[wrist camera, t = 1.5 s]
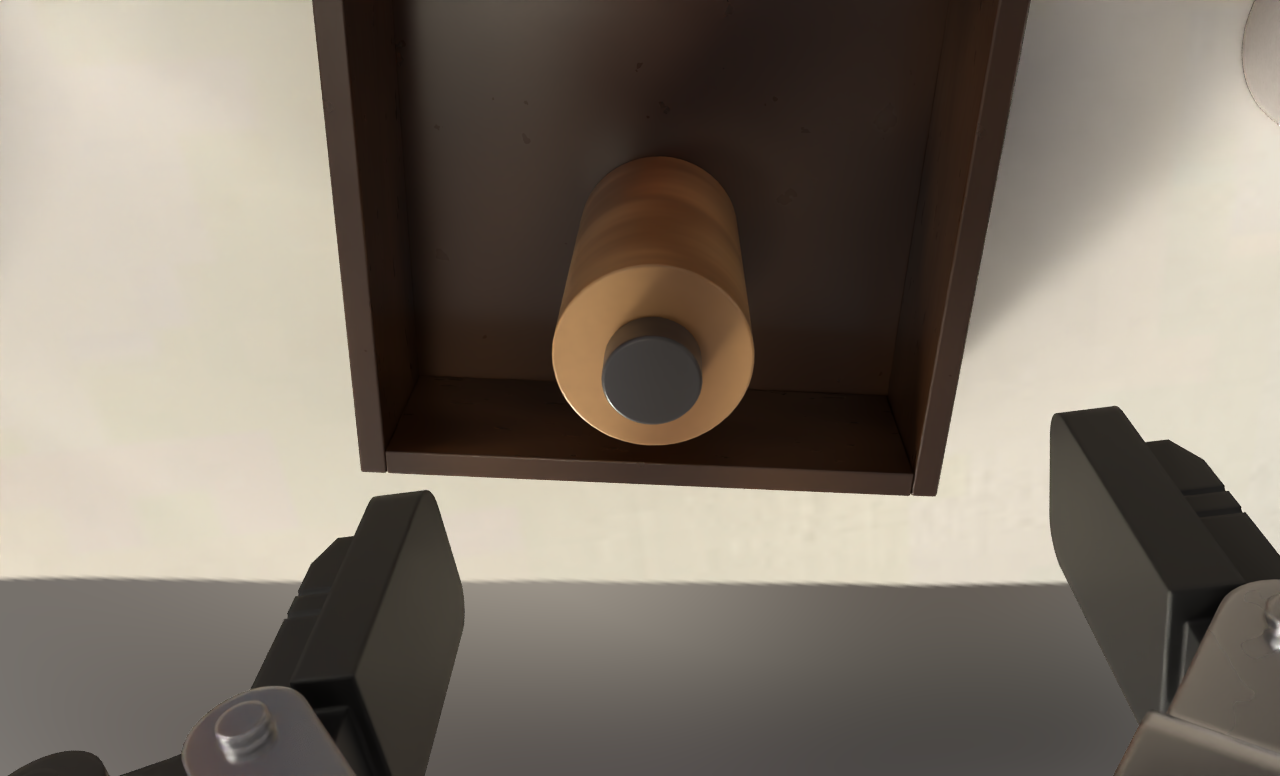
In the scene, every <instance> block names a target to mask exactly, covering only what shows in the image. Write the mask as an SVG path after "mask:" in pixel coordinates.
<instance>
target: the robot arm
mask: <svg viewBox="0 0 1280 776" xmlns="http://www.w3.org/2000/svg"><path fill="white" fill-rule="evenodd" d="M1049 514H1050V529H1051V536H1052V541H1053V546H1054V550H1055V553H1056V557H1057V560H1058V562H1059V565H1060V567H1061V569H1062V571H1063V573H1064V575H1065V577H1066V579H1067V581H1068V583H1069V585H1070V587H1071V589H1072V591H1073V593H1074V595H1075V597H1076V599H1077V601H1078V603H1079V605H1080V607H1081V609H1082V611H1083V613H1084V616H1085V618H1086V620H1087V621H1088V624H1089V625H1090V628H1091V630H1092V632H1093V634H1094V636H1095V638H1096V640H1097V642H1098V644H1099V646H1100V648H1101V650H1102V652H1103V654H1104V656H1105V658H1106V660H1107V662H1108V664H1109V666H1110V668H1111V670H1112V672H1113V674H1114V676H1115V678H1116V680H1117V682H1118V684H1119V686H1120V688H1121V690H1122V692H1123V694H1124V696H1125V698H1126V700H1127V702H1128V704H1129V706H1130V708H1131V710H1132V712H1133V714H1134V716H1135V718H1136V720H1137V723H1138V724H1139V727H1138V728H1137V730H1136V732H1135V734H1134V736H1133V738H1132V740H1131V742H1130V744H1129V746H1128V748H1127V750H1126V752H1125V754H1124V756H1123V758H1122V760H1121V762H1120V764H1119V765H1118V767H1117V769H1116V771H1115V773H1114V775H1113V776H1280V555H1279V554H1278V553H1277V551H1276V550H1275V549H1274V548H1273V546H1272V545H1271V544H1270V543H1269V541H1268V540H1267V539H1266V538H1265V536H1264V535H1263V534H1262V533H1261V531H1260V530H1259V529H1258V527H1257V526H1256V525H1255V524H1254V522H1253V521H1252V520H1251V519H1250V517H1249V516H1248V515H1247V514H1246V512H1244V513H1242V510H1241V506H1240V505H1239V504H1238V502H1237V501H1236V500H1235V498H1234V497H1233V496H1232V495H1231V493H1230V492H1229V491H1225V488H1224V485H1223V483H1222V482H1221V481H1220V480H1219V478H1218V477H1217V476H1216V475H1215V473H1214V472H1213V471H1212V470H1211V468H1210V467H1209V466H1208V464H1207V463H1206V462H1205V461H1204V460H1203V459H1201V458H1200V457H1198V456H1196V455H1194V454H1193V453H1191V452H1189V451H1187V450H1186V449H1184V448H1182V447H1180V446H1179V445H1177V444H1175V443H1174V442H1172V441H1170V440H1160V441H1152V442H1144V440H1143V439H1142V437H1141V436H1140V435H1139V433H1138V432H1137V431H1136V429H1135V428H1134V426H1133V425H1132V424H1131V422H1130V421H1129V420H1128V418H1127V417H1126V415H1125V414H1124V413H1123V411H1122V410H1121V409H1120V408H1119V407H1117V406H1111V407H1103V408H1095V409H1087V410H1079V411H1071V412H1063V413H1056V414H1054V415H1053V417H1052V421H1051V427H1050V509H1049ZM298 593H299V595H298V596H296V597H295V598H294V601H293V603H292V605H291V607H290V609H289V611H288V613H287V614H288V619H284V621H283V623H282V625H281V627H280V629H279V631H278V634H277V636H276V638H275V640H274V642H273V644H272V646H271V648H270V650H269V652H268V654H267V656H266V659H265V660H264V663H263V664H262V667H261V669H260V671H259V673H258V675H257V677H256V679H255V681H254V683H253V685H252V687H251V689H250V690H248V691H245V692H242V693H240V694H237V695H235V696H233V697H231V698H229V699H227V700H225V701H224V702H222V703H220V704H218V705H217V706H216V707H214V708H213V709H212V710H210V711H209V712H208V713H207V714H206V715H205V716H203V717H202V718H201V719H200V720H199V721H198V722H197V723H196V725H195V726H194V727H193V728H192V730H191V731H190V732H189V734H188V735H187V737H186V740H185V742H184V744H183V748H182V751H181V754H180V755H177V756H175V757H172V758H170V759H167V760H164V761H161V762H158V763H155V764H152V765H149V766H146V767H144V768H141V769H138V770H135V771H132V772H129V773H126V774H123V775H120V776H425V772H426V768H427V765H428V761H429V757H430V753H431V749H432V746H433V742H434V738H435V734H436V730H437V727H438V723H439V719H440V715H441V711H442V707H443V703H444V700H445V696H446V692H447V689H448V684H449V681H450V677H451V673H452V670H453V666H454V662H455V658H456V654H457V651H458V647H459V643H460V639H461V635H462V631H463V626H464V613H465V611H464V596H463V589H462V584H461V581H460V577H459V574H458V571H457V567H456V564H455V561H454V557H453V554H452V551H451V547H450V544H449V541H448V538H447V534H446V531H445V528H444V524H443V521H442V518H441V514H440V511H439V508H438V505H437V502H436V500H435V497H434V496H433V494H432V493H431V492H430V491H428V490H424V491H416V492H408V493H399V494H391V495H383V496H375V497H373V498H372V499H371V500H370V502H369V504H368V506H367V508H366V510H365V513H364V515H363V517H362V519H361V522H360V524H359V526H358V528H357V530H356V533H355V535H354V536H351V537H343V538H337V539H336V540H335V541H334V542H333V543H332V544H331V545H330V546H329V547H328V548H327V549H326V550H325V551H324V552H323V553H322V554H321V555H320V556H319V557H318V558H317V559H316V560H315V561H314V562H313V563H312V564H311V565H310V567H309V570H308V572H307V574H306V576H305V578H304V580H303V582H302V584H301V586H300V588H299V590H298ZM8 776H109V774H108V772H107V770H106V768H105V767H104V765H103V763H102V761H101V760H100V759H99V758H98V757H97V756H95V755H94V754H92V753H89V752H85V751H64V752H59V753H55V754H51V755H48V756H45V757H42V758H40V759H37V760H35V761H33V762H31V763H29V764H27V765H25V766H23V767H21V768H19V769H18V770H16V771H15V772H13V773H11V774H10V775H8Z"/></svg>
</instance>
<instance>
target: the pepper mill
mask: <svg viewBox="0 0 1280 776" xmlns="http://www.w3.org/2000/svg"><path fill="white" fill-rule="evenodd" d="M754 354H755V350H754V342H753V335H752V328H751V320H750V313H749V306H748V299H747V291H746V284H745V277H744V270H743V262H742V255H741V248H740V241H739V233H738V226H737V219H736V214H735V211H734V207H733V205H732V203H731V200H730V198H729V197H728V195H727V193H726V192H725V190H724V189H723V187H722V186H721V185H720V184H719V182H718V181H717V180H716V179H714V178H713V177H712V176H711V175H710V174H709V173H707V172H706V171H705V170H703V169H702V168H700V167H698V166H696V165H694V164H692V163H690V162H687V161H684V160H681V159H677V158H672V157H663V156H658V157H646V158H640V159H637V160H633V161H630V162H628V163H625V164H623V165H621V166H619V167H618V168H616V169H614V170H613V171H611V172H610V173H609V174H607V175H606V176H605V177H604V178H603V179H602V180H601V181H600V182H599V183H598V184H597V185H596V187H595V188H594V189H593V191H592V192H591V194H590V196H589V198H588V199H587V201H586V204H585V207H584V209H583V213H582V217H581V221H580V226H579V230H578V234H577V239H576V243H575V247H574V251H573V256H572V260H571V264H570V269H569V273H568V277H567V281H566V286H565V290H564V294H563V299H562V303H561V307H560V311H559V316H558V320H557V324H556V329H555V333H554V338H553V343H552V363H553V369H554V373H555V378H556V380H557V383H558V385H559V388H560V390H561V392H562V394H563V395H564V397H565V399H566V400H567V402H568V403H569V404H570V406H571V407H572V408H573V410H574V411H575V412H576V413H577V414H578V415H579V416H580V417H581V418H582V419H583V420H585V421H586V422H587V423H588V424H590V425H591V426H592V427H594V428H596V429H597V430H599V431H600V432H602V433H604V434H607V435H609V436H611V437H613V438H616V439H619V440H622V441H625V442H630V443H634V444H641V445H667V444H675V443H679V442H683V441H687V440H689V439H692V438H695V437H698V436H700V435H702V434H704V433H706V432H708V431H709V430H711V429H712V428H714V427H715V426H717V425H718V424H720V423H721V422H722V421H723V420H724V419H725V418H726V417H728V416H729V415H730V414H731V412H732V411H733V410H734V409H735V408H736V407H737V405H738V404H739V402H740V401H741V399H742V398H743V396H744V394H745V392H746V390H747V388H748V386H749V383H750V380H751V377H752V374H753V368H754Z"/></svg>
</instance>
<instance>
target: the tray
mask: <svg viewBox="0 0 1280 776" xmlns="http://www.w3.org/2000/svg"><path fill="white" fill-rule="evenodd" d="M1030 2H1031V0H312V4H313V13H314V23H315V32H316V42H317V52H318V61H319V71H320V80H321V90H322V99H323V109H324V119H325V128H326V138H327V147H328V157H329V167H330V176H331V186H332V195H333V205H334V215H335V224H336V234H337V243H338V253H339V263H340V272H341V282H342V291H343V301H344V311H345V320H346V330H347V339H348V349H349V359H350V368H351V378H352V387H353V397H354V407H355V416H356V426H357V435H358V445H359V455H360V464H361V471H362V472H379V473H385V472H388V473H400V474H423V475H446V476H469V477H492V478H515V479H537V480H560V481H583V482H606V483H629V484H651V485H674V486H697V487H720V488H743V489H766V490H788V491H811V492H834V493H857V494H880V495H902V496H909V495H910V494H912V495H914V496H936V494H937V490H938V484H939V479H940V474H941V469H942V464H943V458H944V453H945V448H946V443H947V437H948V432H949V427H950V422H951V416H952V411H953V406H954V401H955V395H956V390H957V385H958V380H959V374H960V369H961V364H962V359H963V353H964V348H965V343H966V338H967V333H968V327H969V322H970V317H971V312H972V306H973V301H974V296H975V291H976V285H977V280H978V275H979V270H980V264H981V259H982V254H983V249H984V243H985V238H986V233H987V228H988V222H989V217H990V212H991V207H992V202H993V196H994V191H995V186H996V181H997V175H998V170H999V165H1000V160H1001V154H1002V149H1003V144H1004V139H1005V133H1006V128H1007V123H1008V118H1009V112H1010V107H1011V102H1012V97H1013V91H1014V86H1015V81H1016V76H1017V70H1018V65H1019V60H1020V55H1021V50H1022V44H1023V39H1024V34H1025V29H1026V23H1027V18H1028V13H1029V8H1030ZM658 156H663V157H672V158H677V159H681V160H684V161H687V162H690V163H692V164H694V165H696V166H698V167H700V168H702V169H703V170H705V171H706V172H707V173H709V174H710V175H711V176H712V177H713V178H714V179H716V180H717V181H718V182H719V184H720V185H721V186H722V187H723V189H724V190H725V192H726V193H727V195H728V197H729V198H730V200H731V203H732V205H733V207H734V211H735V214H736V219H737V226H738V233H739V241H740V248H741V255H742V262H743V270H744V277H745V284H746V291H747V299H748V306H749V313H750V320H751V328H752V335H753V342H754V350H755V354H754V368H753V374H752V377H751V380H750V383H749V386H748V388H747V390H746V392H745V394H744V396H743V398H742V399H741V401H740V402H739V404H738V405H737V407H736V408H735V409H734V410H733V411H732V412H731V414H730V415H729V416H728V417H726V418H725V419H724V420H723V421H722V422H721V423H720V424H718V425H717V426H715V427H714V428H712V429H711V430H709V431H708V432H706V433H704V434H702V435H700V436H698V437H695V438H692V439H689V440H687V441H683V442H679V443H675V444H667V445H641V444H634V443H630V442H625V441H622V440H619V439H616V438H613V437H611V436H609V435H607V434H604V433H602V432H600V431H599V430H597V429H596V428H594V427H592V426H591V425H590V424H588V423H587V422H586V421H585V420H583V419H582V418H581V417H580V416H579V415H578V414H577V413H576V412H575V411H574V410H573V408H572V407H571V406H570V404H569V403H568V402H567V400H566V399H565V397H564V395H563V394H562V392H561V390H560V388H559V385H558V383H557V380H556V378H555V373H554V369H553V363H552V343H553V338H554V333H555V329H556V324H557V320H558V316H559V311H560V307H561V303H562V299H563V294H564V290H565V286H566V281H567V277H568V273H569V269H570V264H571V260H572V256H573V251H574V247H575V243H576V239H577V234H578V230H579V226H580V221H581V217H582V213H583V209H584V207H585V204H586V201H587V199H588V198H589V196H590V194H591V192H592V191H593V189H594V188H595V187H596V185H597V184H598V183H599V182H600V181H601V180H602V179H603V178H604V177H605V176H606V175H607V174H609V173H610V172H611V171H613V170H614V169H616V168H618V167H619V166H621V165H623V164H625V163H628V162H630V161H633V160H637V159H640V158H646V157H658Z"/></svg>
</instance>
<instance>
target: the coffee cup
mask: <svg viewBox="0 0 1280 776" xmlns="http://www.w3.org/2000/svg"><path fill="white" fill-rule="evenodd" d="M1242 61H1243V70H1244V75H1245V79H1246V82H1247V85H1248V88H1249V90H1250V92H1251V94H1252V96H1253V98H1254V100H1255V101H1256V103H1257V104H1258V106H1259V107H1260V108H1261V109H1262V110H1263V112H1264V113H1265V114H1266V115H1267V116H1268V117H1270V118H1271V119H1272V120H1273V121H1274V122H1276V123H1277V124H1278V125H1279V126H1280V0H1255V1H1254V4H1253V6H1252V8H1251V11H1250V14H1249V17H1248V20H1247V23H1246V27H1245V32H1244V38H1243V47H1242Z"/></svg>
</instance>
